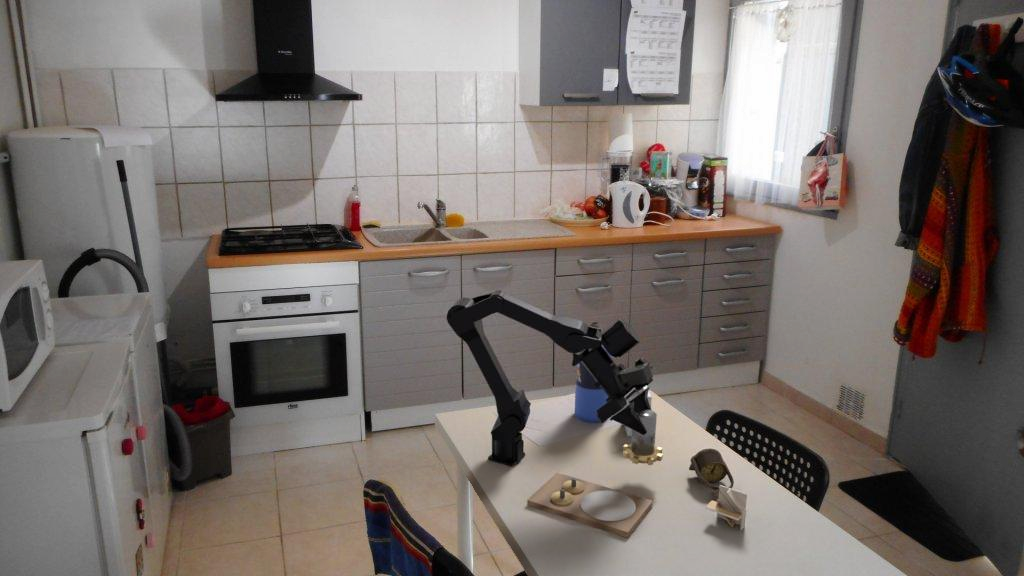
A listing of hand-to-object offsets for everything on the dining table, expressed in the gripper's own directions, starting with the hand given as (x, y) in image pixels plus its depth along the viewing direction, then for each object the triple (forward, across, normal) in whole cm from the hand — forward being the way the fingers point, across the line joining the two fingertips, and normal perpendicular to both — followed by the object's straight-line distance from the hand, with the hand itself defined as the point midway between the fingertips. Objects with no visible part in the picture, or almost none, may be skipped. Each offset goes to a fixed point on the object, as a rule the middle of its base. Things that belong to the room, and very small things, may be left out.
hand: (650, 428), depth 160 cm
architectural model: (+23, -7, -5) cm, 25 cm away
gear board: (+4, -16, +13) cm, 21 cm away
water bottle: (-8, +24, +26) cm, 36 cm away
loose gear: (+4, 0, +6) cm, 7 cm away
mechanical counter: (+18, +5, 0) cm, 18 cm away
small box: (+1, +22, +17) cm, 28 cm away
